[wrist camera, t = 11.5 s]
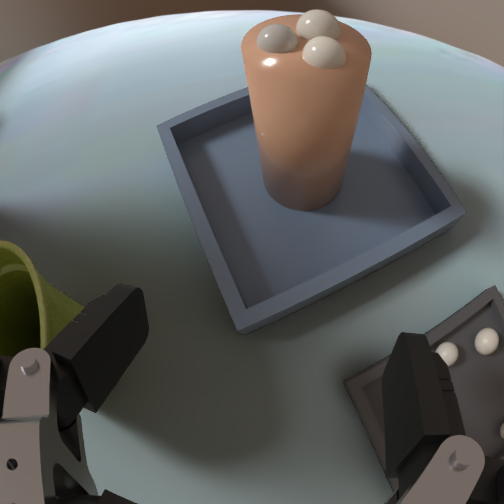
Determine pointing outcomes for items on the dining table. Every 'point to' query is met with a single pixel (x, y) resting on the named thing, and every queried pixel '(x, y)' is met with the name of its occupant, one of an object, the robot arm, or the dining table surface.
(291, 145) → the tan rounded pillar
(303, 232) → the shallow square tray
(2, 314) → the plant pot
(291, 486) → the dining table surface
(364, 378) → the parts tray
